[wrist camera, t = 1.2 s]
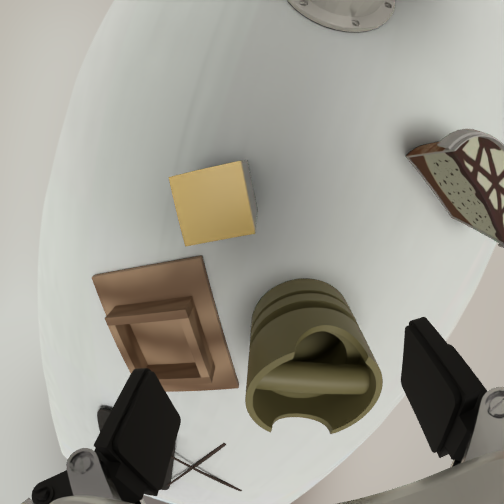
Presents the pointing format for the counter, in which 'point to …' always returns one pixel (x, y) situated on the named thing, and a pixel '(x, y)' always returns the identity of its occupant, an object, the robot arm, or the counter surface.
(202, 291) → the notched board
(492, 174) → the food container
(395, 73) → the counter surface
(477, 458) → the robot arm
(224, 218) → the gold and gray block
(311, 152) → the counter surface
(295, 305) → the piston
